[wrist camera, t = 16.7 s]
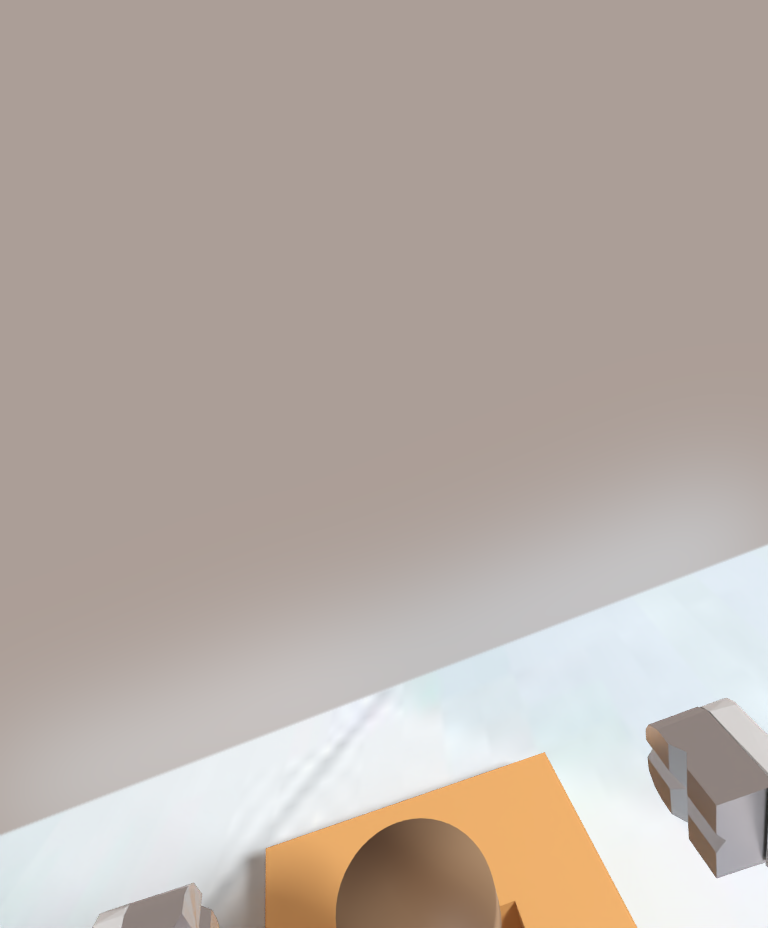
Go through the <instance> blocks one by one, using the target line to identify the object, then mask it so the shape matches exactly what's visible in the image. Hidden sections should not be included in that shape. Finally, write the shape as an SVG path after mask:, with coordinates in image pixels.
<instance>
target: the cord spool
mask: <svg viewBox="0 0 768 928" xmlns="http://www.w3.org/2000/svg"><path fill="white" fill-rule="evenodd" d="M336 928H502V922H501V910H500V905H499V900H498V896H497V893H496V889H495V885H494V881H493V877H492V874H491V871H490V868H489V866H488V864H487V861H486V859H485V857H484V856H483V854H482V852H481V851H480V849H479V848H478V847H477V845H476V844H475V843H474V842H473V841H472V840H471V839H470V838H469V837H468V836H467V835H466V834H465V833H463V832H462V831H461V830H459V829H458V828H456V827H454V826H452V825H450V824H448V823H445V822H442V821H439V820H434V819H426V818H417V819H409V820H404V821H401V822H397V823H394V824H392V825H390V826H388V827H386V828H384V829H383V830H381V831H379V832H378V833H376V834H375V835H374V836H373V837H371V838H370V839H369V840H368V841H367V842H366V843H365V844H364V845H363V846H362V847H361V848H360V850H359V851H358V852H357V853H356V854H355V856H354V858H353V859H352V861H351V862H350V864H349V866H348V868H347V870H346V872H345V874H344V876H343V879H342V882H341V884H340V888H339V892H338V896H337V903H336Z"/></svg>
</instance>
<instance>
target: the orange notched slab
mask: <svg viewBox="0 0 768 928" xmlns="http://www.w3.org/2000/svg"><path fill="white" fill-rule="evenodd" d="M417 818H426V819H434V820H439V821H442V822H445V823H448V824H450V825H452V826H454V827H456V828H458V829H459V830H461V831H462V832H463V833H465V834H466V835H467V836H468V837H469V838H470V839H471V840H472V841H473V842H474V843H475V844H476V845H477V847H478V848H479V849H480V851H481V852H482V854H483V856H484V857H485V859H486V861H487V864H488V866H489V868H490V871H491V874H492V877H493V881H494V885H495V889H496V893H497V896H498V900H499V905H500V910H501V922H502V928H637V926H636V924H635V923H634V921H633V919H632V917H631V915H630V913H629V911H628V909H627V907H626V905H625V904H624V902H623V900H622V898H621V896H620V894H619V892H618V890H617V888H616V887H615V885H614V883H613V881H612V879H611V877H610V875H609V873H608V871H607V869H606V868H605V866H604V864H603V862H602V860H601V858H600V856H599V854H598V852H597V851H596V849H595V847H594V845H593V843H592V841H591V839H590V837H589V835H588V834H587V832H586V830H585V828H584V826H583V824H582V822H581V820H580V818H579V816H578V815H577V813H576V811H575V809H574V807H573V805H572V803H571V801H570V799H569V798H568V796H567V794H566V792H565V790H564V788H563V786H562V784H561V782H560V780H559V779H558V777H557V775H556V773H555V771H554V769H553V767H552V765H551V763H550V762H549V760H548V758H547V756H546V754H545V752H544V753H541V754H538V755H535V756H533V757H530V758H527V759H524V760H521V761H518V762H515V763H512V764H509V765H506V766H504V767H501V768H498V769H495V770H492V771H489V772H486V773H483V774H480V775H477V776H474V777H472V778H469V779H466V780H463V781H460V782H457V783H454V784H451V785H448V786H445V787H443V788H440V789H437V790H434V791H431V792H428V793H425V794H422V795H419V796H416V797H414V798H411V799H408V800H405V801H402V802H399V803H396V804H393V805H390V806H387V807H385V808H382V809H379V810H376V811H373V812H370V813H367V814H364V815H361V816H358V817H356V818H353V819H350V820H347V821H344V822H341V823H338V824H335V825H332V826H329V827H326V828H324V829H321V830H318V831H315V832H312V833H309V834H306V835H303V836H300V837H297V838H295V839H292V840H289V841H286V842H283V843H280V844H277V845H274V846H271V847H268V848H266V896H265V928H336V903H337V896H338V892H339V888H340V884H341V882H342V879H343V876H344V874H345V872H346V870H347V868H348V866H349V864H350V862H351V861H352V859H353V858H354V856H355V854H356V853H357V852H358V851H359V850H360V848H361V847H362V846H363V845H364V844H365V843H366V842H367V841H368V840H369V839H370V838H371V837H373V836H374V835H375V834H376V833H378V832H379V831H381V830H383V829H384V828H386V827H388V826H390V825H392V824H394V823H397V822H401V821H404V820H409V819H417Z"/></svg>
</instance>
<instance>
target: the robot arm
mask: <svg viewBox="0 0 768 928" xmlns="http://www.w3.org/2000/svg"><path fill="white" fill-rule="evenodd" d="M646 740H647V741H648V743H649V744H650V745H651V747H652V748H653V749H652V751H651V753H650V754H649V756H648V765H649V772H650V774H651V777H652V780H653V782H654V785H655V787H656V789H657V791H658V793H659V795H660V797H661V798H662V800H663V802H664V803H665V805H666V806H667V808H668V809H669V810H670V812H671V813H672V814H673V815H675V816H677V817H679V818H680V819H682V820H684V821H686V822H688V829H689V840H690V841H691V842H692V844H693V845H694V847H695V848H696V850H697V851H698V852H699V854H700V855H701V857H702V858H703V860H704V861H705V862H706V864H707V865H708V867H709V868H710V870H711V871H712V872H713V874H714V875H715V877H716V878H719V877H722V876H725V875H728V874H731V873H734V872H737V871H740V870H743V869H746V868H749V867H752V866H755V865H758V864H761V863H764V862H766V866H767V867H768V734H767V733H766V732H765V731H764V730H763V729H762V728H761V727H760V726H759V725H758V724H757V723H756V722H755V721H754V720H753V719H752V718H751V717H750V716H749V715H748V714H747V713H746V712H745V711H744V710H743V709H742V708H741V707H740V706H739V705H738V704H737V703H736V702H734V701H732V700H730V699H728V698H724V699H720V700H718V701H715V702H712V703H710V704H707V705H704V706H702V707H696V708H693V709H690V710H687V711H685V712H682V713H679V714H677V715H674V716H671V717H668V718H666V719H663V720H660V721H657V722H655V723H652V724H649V725H648V726H647V728H646ZM201 899H202V893H201V892H200V890H199V889H198V888H197V886H196V885H195V883H191V884H188V885H185V886H182V887H179V888H176V889H173V890H170V891H167V892H164V893H161V894H158V895H155V896H152V897H149V898H146V899H143V900H140V901H137V902H134V903H130V904H127V905H124V906H121V907H118V908H115V909H112V910H109V911H106V912H104V913H101V914H99V916H98V918H97V920H96V922H95V924H94V925H93V927H92V928H220V927H219V924H218V921H217V918H216V916H215V915H214V913H213V911H212V910H211V909H208V908H205V907H203V906H201Z"/></svg>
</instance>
